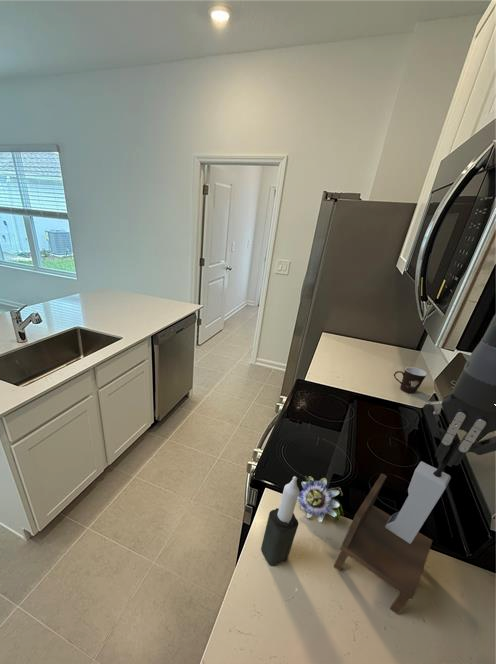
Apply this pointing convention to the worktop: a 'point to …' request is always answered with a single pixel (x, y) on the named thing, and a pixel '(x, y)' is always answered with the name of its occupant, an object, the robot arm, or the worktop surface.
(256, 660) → the worktop surface
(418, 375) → the coffee mug
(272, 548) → the candle
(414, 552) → the shelf
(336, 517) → the passion flower
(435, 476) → the vintage mobile phone
